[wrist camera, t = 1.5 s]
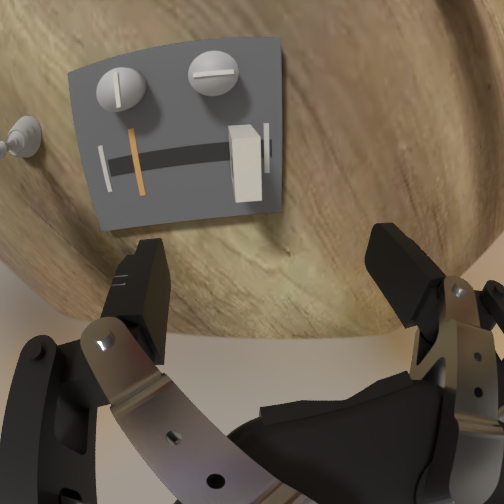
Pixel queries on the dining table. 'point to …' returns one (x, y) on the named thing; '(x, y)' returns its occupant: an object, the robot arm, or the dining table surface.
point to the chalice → (22, 138)
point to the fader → (245, 163)
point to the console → (177, 129)
